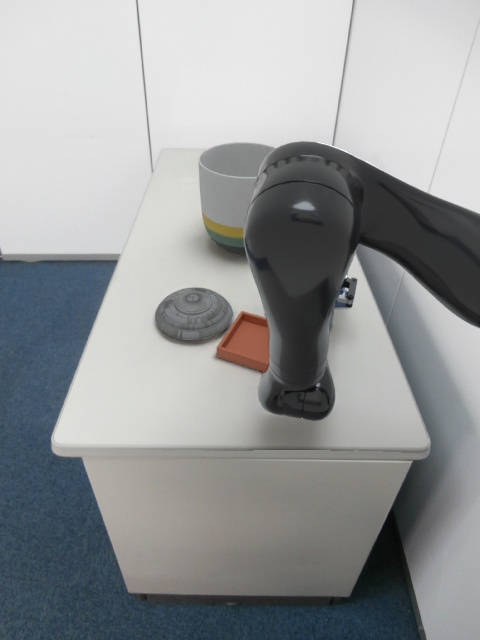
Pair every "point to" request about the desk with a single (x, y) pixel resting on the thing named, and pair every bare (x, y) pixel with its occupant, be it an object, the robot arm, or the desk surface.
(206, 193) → the planter
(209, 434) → the desk surface
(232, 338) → the terracotta tray
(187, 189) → the desk surface
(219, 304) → the flying saucer
